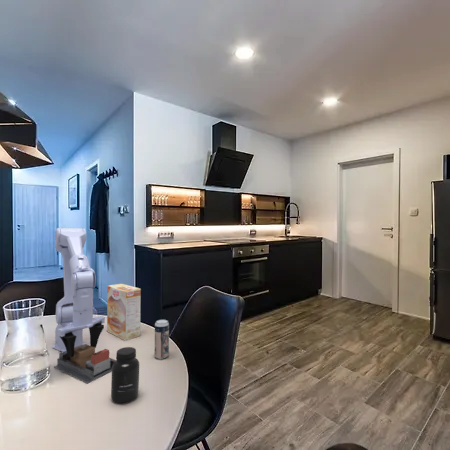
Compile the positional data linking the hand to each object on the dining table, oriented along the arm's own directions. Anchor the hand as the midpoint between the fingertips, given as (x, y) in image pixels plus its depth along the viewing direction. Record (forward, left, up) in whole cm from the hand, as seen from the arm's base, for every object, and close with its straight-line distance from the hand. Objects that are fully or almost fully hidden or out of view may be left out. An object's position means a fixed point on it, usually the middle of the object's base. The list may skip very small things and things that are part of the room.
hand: (82, 351), depth 90 cm
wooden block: (0, 0, -4) cm, 4 cm away
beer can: (+17, +18, -5) cm, 25 cm away
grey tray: (+2, 0, -4) cm, 5 cm away
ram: (+8, 0, -4) cm, 9 cm away
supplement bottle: (+25, -4, -5) cm, 26 cm away
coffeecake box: (-11, +25, -5) cm, 28 cm away
